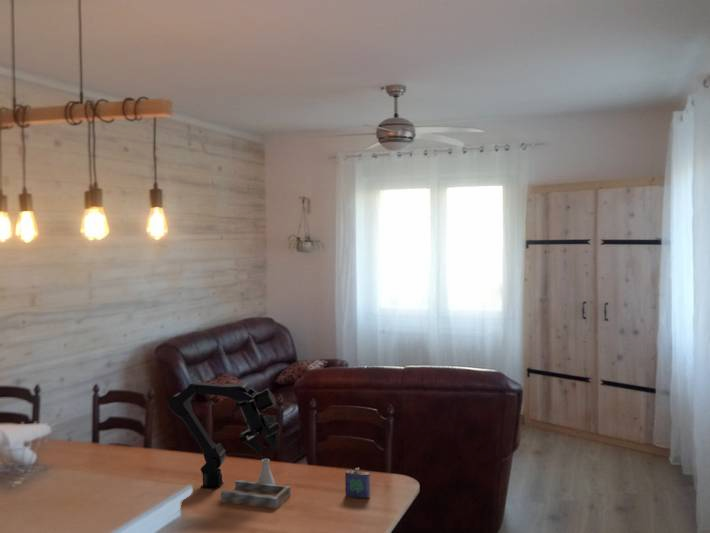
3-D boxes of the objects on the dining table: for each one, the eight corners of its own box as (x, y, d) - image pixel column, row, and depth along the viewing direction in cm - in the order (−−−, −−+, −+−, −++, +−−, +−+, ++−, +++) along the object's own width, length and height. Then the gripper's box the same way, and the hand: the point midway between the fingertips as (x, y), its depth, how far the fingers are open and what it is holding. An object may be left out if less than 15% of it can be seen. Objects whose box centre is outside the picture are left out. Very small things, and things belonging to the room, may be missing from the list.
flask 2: (370, 496, 232) (370, 467, 231) (368, 499, 229) (368, 470, 229) (346, 494, 235) (346, 465, 234) (344, 497, 232) (343, 468, 231)
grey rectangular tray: (221, 501, 229) (221, 492, 229) (237, 489, 241) (237, 479, 241) (276, 508, 222) (276, 499, 222) (290, 495, 234) (290, 486, 234)
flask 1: (271, 490, 239) (271, 464, 239) (253, 488, 241) (253, 463, 240) (278, 482, 246) (277, 457, 246) (260, 481, 248) (259, 456, 247)
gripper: (281, 401, 242) (298, 439, 242) (251, 410, 253) (267, 445, 253) (261, 414, 233) (278, 453, 233) (231, 422, 245) (247, 459, 245)
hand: (268, 452), depth 241 cm, fingers open, 9 cm apart
